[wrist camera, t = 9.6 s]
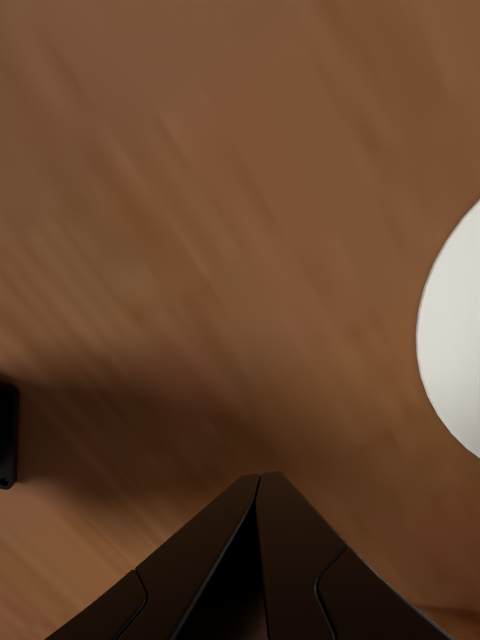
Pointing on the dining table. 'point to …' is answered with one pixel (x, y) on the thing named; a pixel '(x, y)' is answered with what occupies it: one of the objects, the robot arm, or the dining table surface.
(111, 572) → the dining table surface
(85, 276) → the dining table surface
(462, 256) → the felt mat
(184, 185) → the dining table surface
